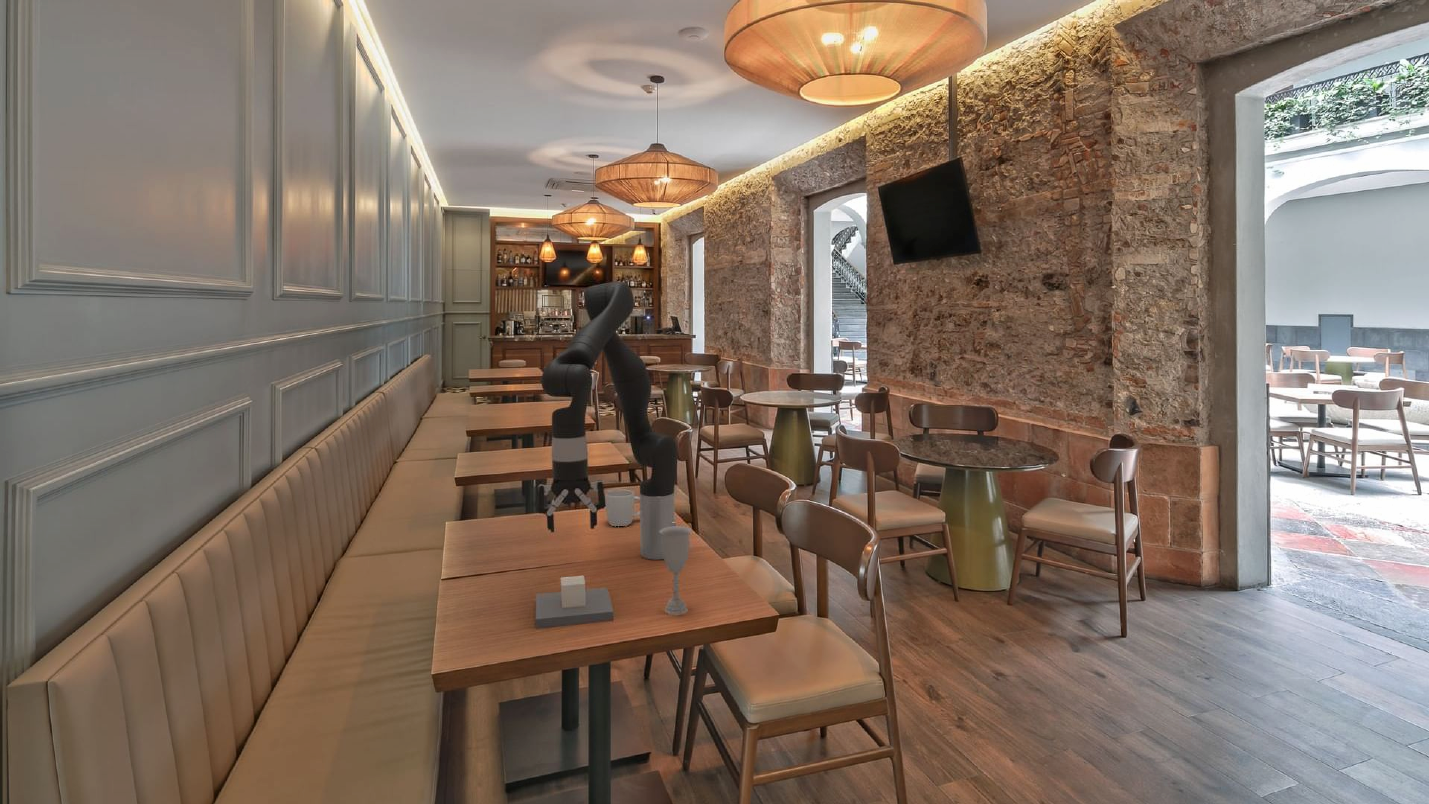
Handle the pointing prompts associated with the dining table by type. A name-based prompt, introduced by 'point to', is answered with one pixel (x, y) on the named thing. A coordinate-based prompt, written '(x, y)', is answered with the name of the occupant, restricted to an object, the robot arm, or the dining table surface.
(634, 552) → the dining table surface
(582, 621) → the slate board
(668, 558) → the chalice
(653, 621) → the dining table surface
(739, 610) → the dining table surface
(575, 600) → the cube
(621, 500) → the mug
